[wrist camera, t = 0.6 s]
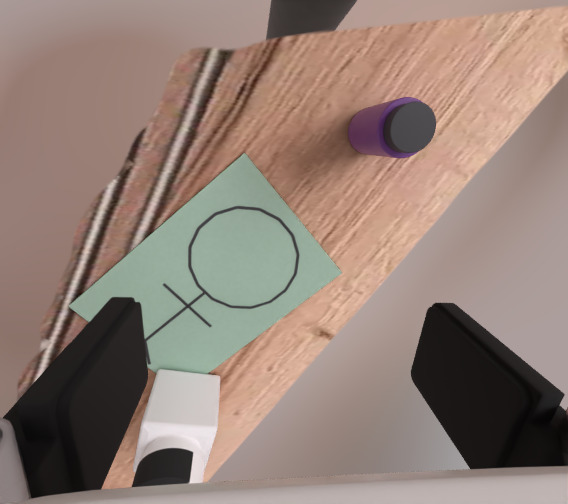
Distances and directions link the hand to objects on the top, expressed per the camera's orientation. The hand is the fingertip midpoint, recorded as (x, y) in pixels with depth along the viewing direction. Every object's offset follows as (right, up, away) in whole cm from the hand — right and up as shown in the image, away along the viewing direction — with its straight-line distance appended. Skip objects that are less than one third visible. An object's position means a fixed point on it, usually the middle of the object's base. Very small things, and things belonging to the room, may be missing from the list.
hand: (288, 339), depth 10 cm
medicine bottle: (-12, -14, +27) cm, 33 cm away
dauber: (+8, +14, +19) cm, 25 cm away
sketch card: (-8, -1, +23) cm, 24 cm away
